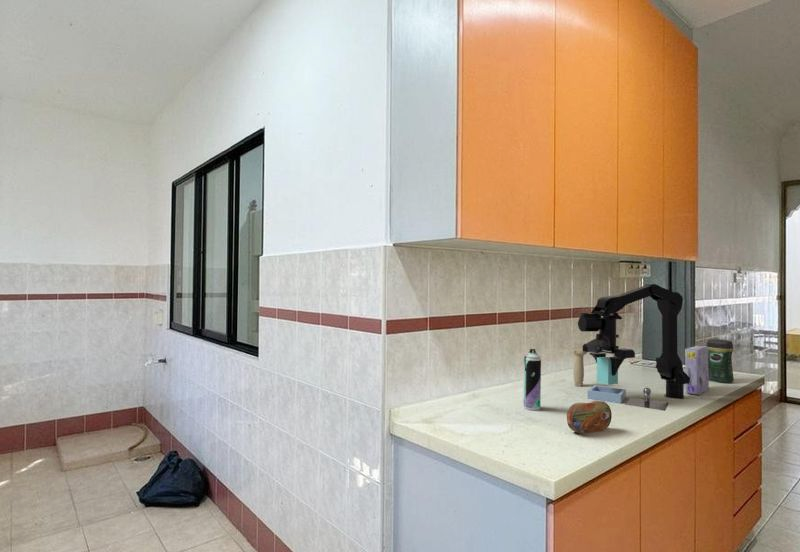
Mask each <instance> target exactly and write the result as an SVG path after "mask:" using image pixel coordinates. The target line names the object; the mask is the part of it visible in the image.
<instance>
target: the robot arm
mask: <svg viewBox="0 0 800 552" xmlns="http://www.w3.org/2000/svg"><path fill="white" fill-rule="evenodd" d="M648 297H649V298H650V299H652V300H653V301H655V302H656V305H657V310H658V311H659V312H660V314H661V333H662V334H661V340H662V341H661V342H662V344H661V345H662V347H661V349H662V350H661V351H662V352H661V355H660V356H659V357H658V356H656V357H655V363H656V364H655V369H657V370H656V371H657V373H658V374H659V376H660V380H664V381H665V393H664V396H663V397H664V398H669V399H677V400H685V398H686V396H685V395H684V392H685V391H684V385H686V384H689V381H690V377H689V376H688V375H687V374H686V371H685V370H684V366H683V361H682V359H681V358H680V356H679V353H678V315H679V314H680V312H681V310H682V307H683V303H684V302H683V301H684V300H683V299H684V298H683V296H682V294H680V293H679V292H678V291H672V290H669V289H666V288H665V287H662V286H660V285H658V284H656V283H646V284H644V285H642V286H640V287H637V288H634V289H631V290H628V291H625V292H623V293H620V294H616V295H608V296H603V297H602V296H601V297H599V298H598V299H597V302H596V305H595V306H594V307H593V309H592V310H591V312H590V313H588V312H581V314H580V317H579V318H578V321H577V326H578V329H579V331H580V332H586V333H587V332H590V333H591V332H594V333H595V332H598V333H596V335H595V338H593V339H592V340H590V341H588V342H586V343H584V344H583V345H582V348H581V349H582V351H585V352H587V353H589V355H590V356H592V357H593V358H594V360H595V363H596V364H597V358H598V357H607V356H606V355H607V354H611V355H612V356H608V357H609V358H610V359H611V361H612V375H613V376H615V374H616V373H617V371H618V372H619V369H620V367H621V365H622V364H623V362H624V360H626V359H634V358H636V352H635V351H634V349H631V348H619V347H620V346H619V345H617V338H620V337H619V336H620V335H619V334H617V320H622V319H623V317H622V316H621V315H619V313H618V312H619V311H621V310H623V308H625V307H626V306H627V305H630V304H632V303H635V302H639V301H641V300H644V299H645V298H648Z"/></svg>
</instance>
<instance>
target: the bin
mask: <svg viewBox="0 0 800 552" xmlns="http://www.w3.org/2000/svg"><path fill="white" fill-rule="evenodd" d="M626 398H627V389H625V388H618V387H610V386H602V385H598V384H597V385H596V384H594V385H593V386H591V387H590V388H589V389H588V390H587V399H588V400H592V401H603V402H606V403H608V402H609V403H613V404H615V403H616V404H622V403H623V401H624V400H626Z"/></svg>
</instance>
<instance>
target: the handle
mask: <svg viewBox="0 0 800 552" xmlns="http://www.w3.org/2000/svg"><path fill="white" fill-rule="evenodd" d="M582 349H583V348H573V347H572V348H571V349H570V352H571V353H572V354H573V355H574V360H573V362H574V363H573V381H574V382H573V383H574V386H575V387H583V386H584V380H585V379H584V377H585V369H584V368H585V367H584V356H585V355H586V354H588V352H585V351H582Z"/></svg>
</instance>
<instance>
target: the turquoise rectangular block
mask: <svg viewBox="0 0 800 552" xmlns="http://www.w3.org/2000/svg"><path fill="white" fill-rule="evenodd" d="M609 357H610V356H606V357H598V358H597V363H596V382H597V383H600V384H603V385H606V386H610V385H618V384H619V370H618V371H617V373H616V374H615V376H613V375H612V361H611V359H610V358H609Z"/></svg>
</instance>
